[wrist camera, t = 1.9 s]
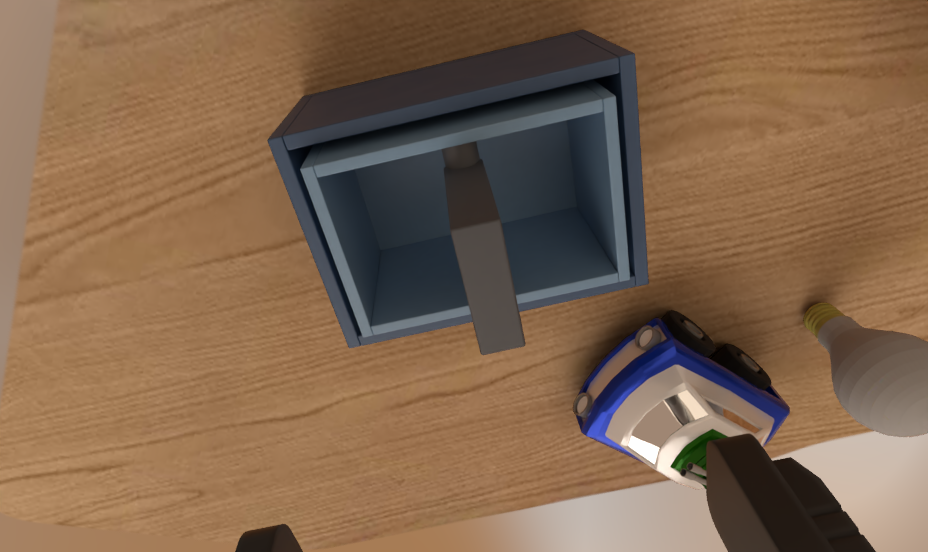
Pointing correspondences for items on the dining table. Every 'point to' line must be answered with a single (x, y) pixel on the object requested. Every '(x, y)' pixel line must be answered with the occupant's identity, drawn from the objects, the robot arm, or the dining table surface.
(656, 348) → the toy car
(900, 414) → the light bulb
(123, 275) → the dining table surface
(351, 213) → the light blue bin
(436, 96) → the dark blue bin
